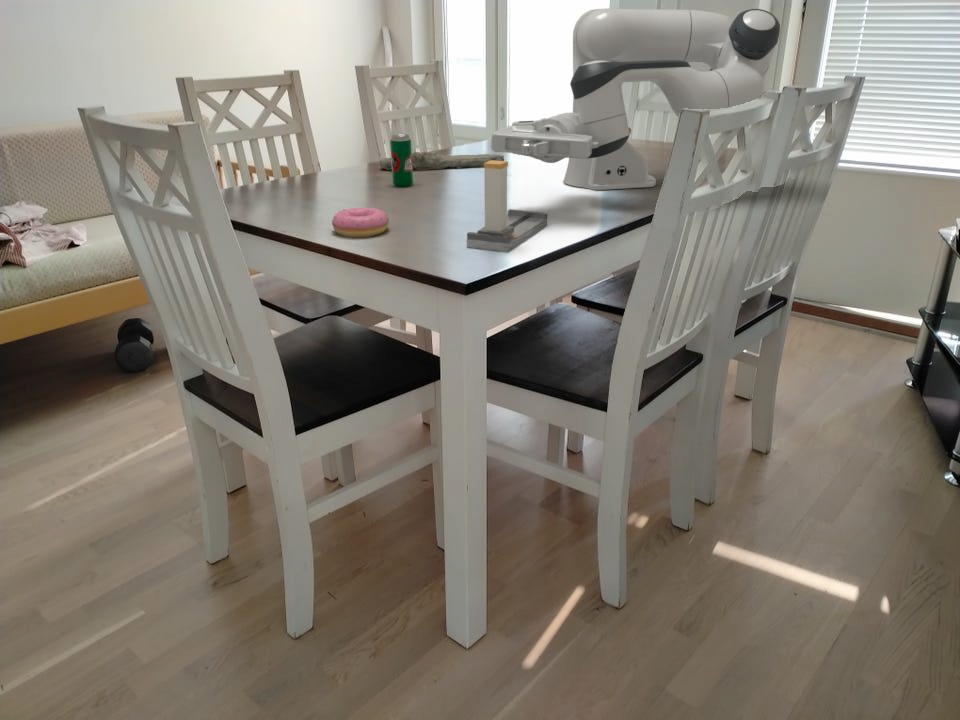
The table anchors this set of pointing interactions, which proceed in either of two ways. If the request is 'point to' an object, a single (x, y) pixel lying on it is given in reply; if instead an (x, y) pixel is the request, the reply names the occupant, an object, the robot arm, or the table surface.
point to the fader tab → (496, 199)
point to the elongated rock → (444, 161)
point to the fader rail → (523, 229)
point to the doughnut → (360, 222)
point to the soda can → (401, 160)
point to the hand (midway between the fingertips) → (528, 149)
